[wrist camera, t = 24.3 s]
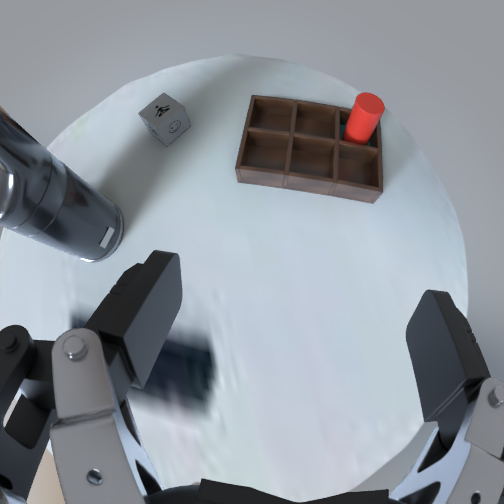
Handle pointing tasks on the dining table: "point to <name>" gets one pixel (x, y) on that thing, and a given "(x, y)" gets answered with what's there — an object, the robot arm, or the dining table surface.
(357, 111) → the red cylinder
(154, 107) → the dice cube
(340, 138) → the grid
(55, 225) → the robot arm
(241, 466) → the dining table surface
